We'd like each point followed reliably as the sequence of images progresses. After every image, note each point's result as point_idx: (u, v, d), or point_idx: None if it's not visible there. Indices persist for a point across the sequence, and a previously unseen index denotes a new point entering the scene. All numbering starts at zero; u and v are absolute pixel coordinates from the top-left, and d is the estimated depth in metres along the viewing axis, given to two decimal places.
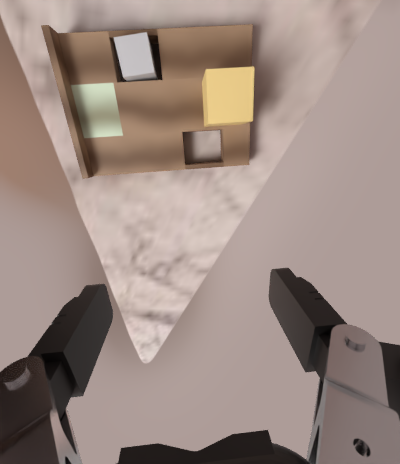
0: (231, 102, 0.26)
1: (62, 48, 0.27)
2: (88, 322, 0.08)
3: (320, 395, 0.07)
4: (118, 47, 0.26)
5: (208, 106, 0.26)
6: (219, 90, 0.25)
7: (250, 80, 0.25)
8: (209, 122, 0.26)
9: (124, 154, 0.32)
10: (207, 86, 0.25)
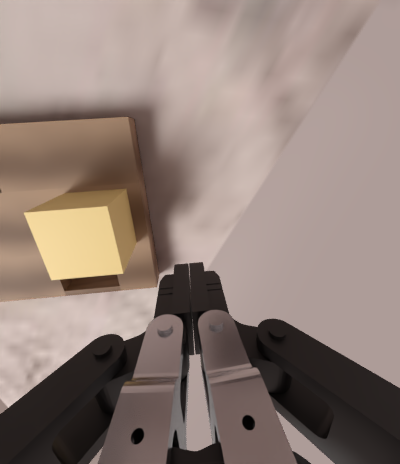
0: (81, 253, 0.16)
1: None
2: (189, 293, 0.09)
3: (206, 386, 0.07)
4: None
5: (44, 259, 0.16)
6: (56, 239, 0.15)
7: (105, 224, 0.15)
8: (52, 278, 0.17)
9: None
10: (34, 234, 0.15)
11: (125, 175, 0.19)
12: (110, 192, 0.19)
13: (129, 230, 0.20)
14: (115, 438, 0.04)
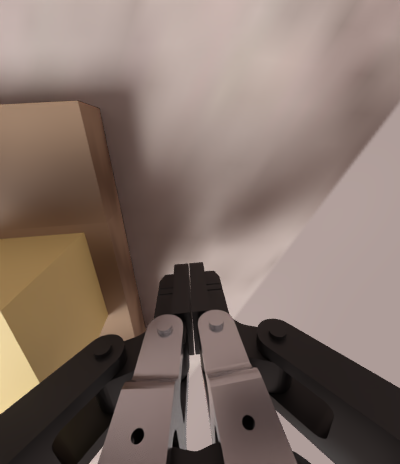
0: None
1: None
2: (189, 293, 0.09)
3: (206, 386, 0.07)
4: None
5: None
6: None
7: (4, 346, 0.06)
8: None
9: None
10: None
11: (81, 210, 0.11)
12: (49, 244, 0.10)
13: (90, 307, 0.11)
14: (115, 438, 0.04)
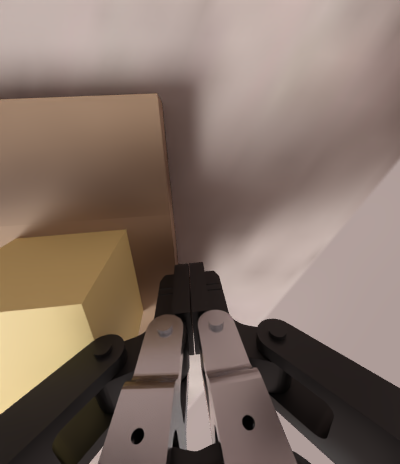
0: (29, 389, 0.07)
1: None
2: None
3: (206, 386, 0.07)
4: None
5: None
6: None
7: (79, 338, 0.07)
8: None
9: None
10: None
11: (146, 202, 0.11)
12: (97, 241, 0.10)
13: (132, 303, 0.11)
14: (115, 438, 0.04)
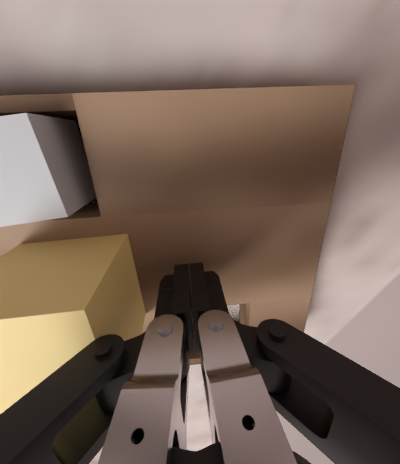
0: None
1: None
2: None
3: (206, 386, 0.07)
4: None
5: None
6: None
7: (82, 343, 0.07)
8: None
9: None
10: None
11: (313, 190, 0.11)
12: (99, 245, 0.10)
13: (134, 306, 0.11)
14: (115, 438, 0.04)
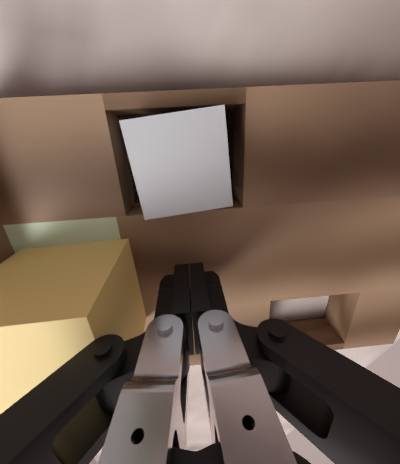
0: None
1: None
2: None
3: (206, 386, 0.07)
4: (133, 147, 0.08)
5: None
6: None
7: None
8: None
9: None
10: None
11: None
12: (100, 250, 0.10)
13: (135, 310, 0.11)
14: (115, 438, 0.04)
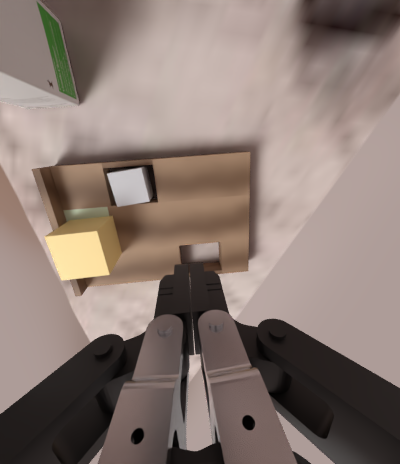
0: (81, 261, 0.24)
1: (54, 179, 0.26)
2: (189, 293, 0.09)
3: (206, 386, 0.07)
4: (112, 182, 0.25)
5: (57, 266, 0.24)
6: (64, 252, 0.24)
7: (96, 242, 0.23)
8: (62, 279, 0.25)
9: (119, 267, 0.31)
10: (51, 250, 0.23)
11: (241, 190, 0.28)
12: (101, 219, 0.27)
13: (115, 245, 0.28)
14: (115, 438, 0.04)
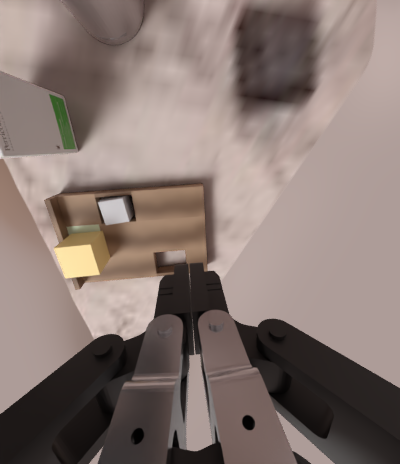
0: (79, 265, 0.34)
1: (59, 205, 0.36)
2: (189, 293, 0.09)
3: (206, 386, 0.07)
4: (101, 208, 0.35)
5: (62, 268, 0.34)
6: (67, 259, 0.34)
7: (90, 252, 0.33)
8: (66, 277, 0.35)
9: (108, 268, 0.41)
10: (58, 257, 0.33)
11: (198, 212, 0.38)
12: (94, 233, 0.37)
13: (105, 252, 0.38)
14: (115, 438, 0.04)
